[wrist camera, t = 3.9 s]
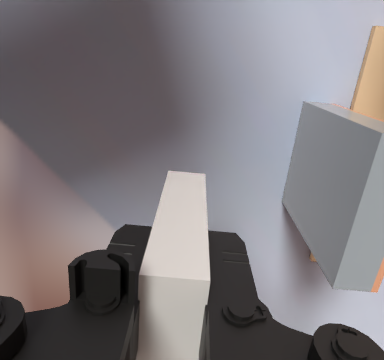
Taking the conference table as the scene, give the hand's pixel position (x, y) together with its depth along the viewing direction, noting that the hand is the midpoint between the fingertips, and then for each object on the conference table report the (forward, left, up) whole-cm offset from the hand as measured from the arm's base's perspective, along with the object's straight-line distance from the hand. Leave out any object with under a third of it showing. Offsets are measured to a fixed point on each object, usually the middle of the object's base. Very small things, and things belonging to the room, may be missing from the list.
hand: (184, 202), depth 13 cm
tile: (+8, 0, -9) cm, 12 cm away
